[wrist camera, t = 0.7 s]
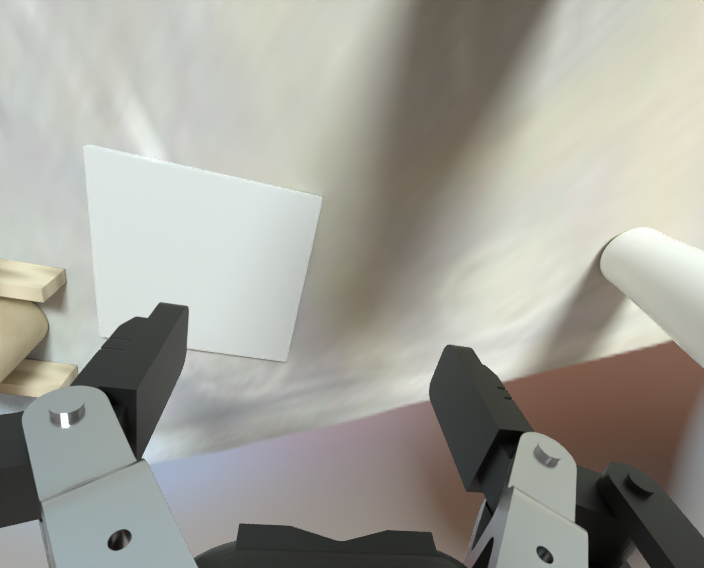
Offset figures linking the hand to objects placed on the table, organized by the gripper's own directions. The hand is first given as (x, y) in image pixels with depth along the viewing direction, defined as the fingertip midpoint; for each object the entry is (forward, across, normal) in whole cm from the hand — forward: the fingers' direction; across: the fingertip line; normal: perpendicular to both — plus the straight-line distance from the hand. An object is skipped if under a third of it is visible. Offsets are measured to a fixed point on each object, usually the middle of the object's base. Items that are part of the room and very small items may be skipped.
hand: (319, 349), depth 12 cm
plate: (+20, +8, +7) cm, 22 cm away
